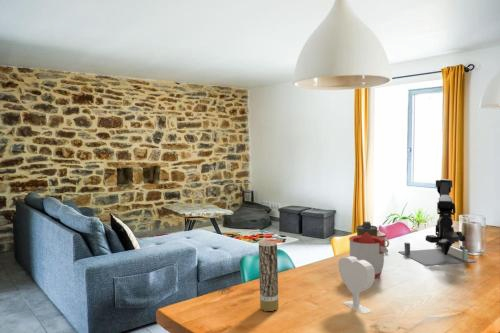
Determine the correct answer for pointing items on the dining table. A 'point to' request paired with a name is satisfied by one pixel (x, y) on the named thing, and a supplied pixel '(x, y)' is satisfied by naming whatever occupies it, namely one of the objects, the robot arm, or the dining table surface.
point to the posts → (407, 248)
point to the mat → (434, 257)
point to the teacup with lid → (382, 235)
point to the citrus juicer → (369, 250)
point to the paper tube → (268, 275)
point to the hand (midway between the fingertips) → (445, 254)
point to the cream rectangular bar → (458, 253)
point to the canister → (367, 229)
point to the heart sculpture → (356, 279)
